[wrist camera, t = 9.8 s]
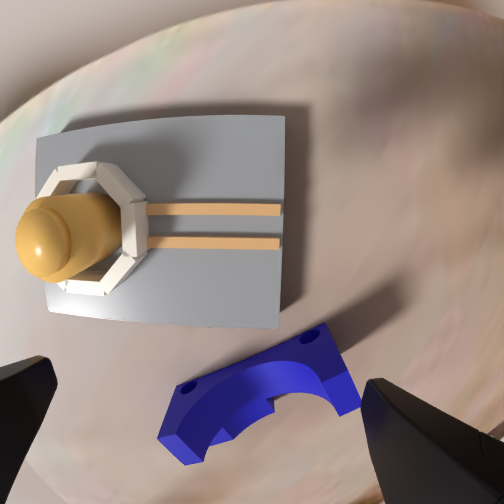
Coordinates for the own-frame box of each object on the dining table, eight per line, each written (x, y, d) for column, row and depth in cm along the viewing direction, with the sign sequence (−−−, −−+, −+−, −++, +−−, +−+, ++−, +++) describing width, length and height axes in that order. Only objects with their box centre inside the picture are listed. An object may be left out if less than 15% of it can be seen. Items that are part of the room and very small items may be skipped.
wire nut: (123, 189, 16) (66, 193, 10) (128, 258, 17) (76, 290, 11) (68, 195, 16) (5, 202, 10) (74, 258, 17) (16, 286, 11)
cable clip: (207, 422, 22) (197, 476, 16) (176, 384, 21) (156, 438, 15) (345, 367, 20) (370, 419, 15) (324, 321, 20) (347, 370, 14)
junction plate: (281, 123, 17) (289, 106, 13) (276, 315, 19) (281, 345, 15) (53, 141, 17) (18, 135, 13) (62, 301, 19) (33, 322, 15)
